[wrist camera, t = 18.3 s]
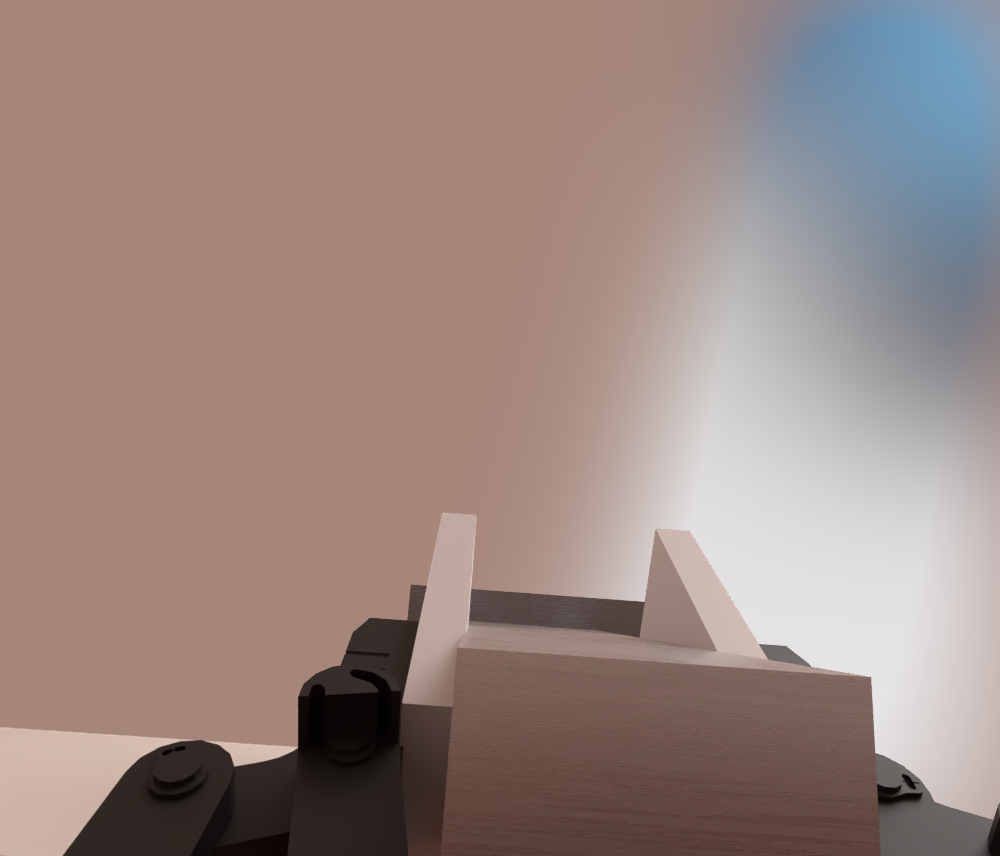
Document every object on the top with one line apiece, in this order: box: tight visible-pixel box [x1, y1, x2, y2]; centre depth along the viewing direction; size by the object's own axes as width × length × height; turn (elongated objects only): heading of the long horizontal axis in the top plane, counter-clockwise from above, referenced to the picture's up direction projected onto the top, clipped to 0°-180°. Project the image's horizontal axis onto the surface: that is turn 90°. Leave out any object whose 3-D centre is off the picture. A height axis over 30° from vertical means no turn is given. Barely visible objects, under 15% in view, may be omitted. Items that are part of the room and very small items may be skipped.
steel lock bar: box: [407, 585, 881, 856], centre depth 18 cm, size 23×8×4 cm, turn 2°
